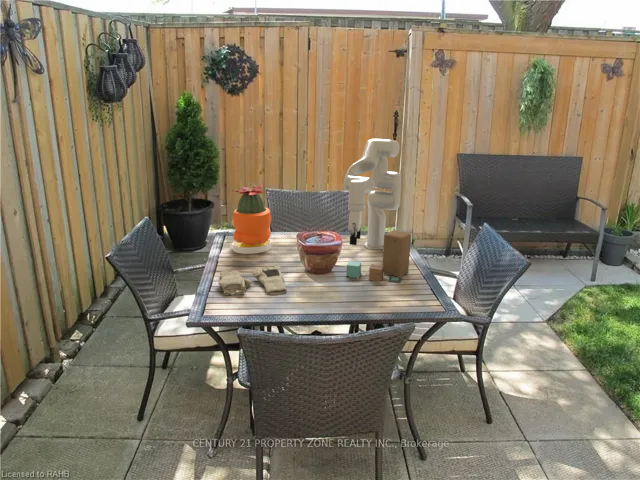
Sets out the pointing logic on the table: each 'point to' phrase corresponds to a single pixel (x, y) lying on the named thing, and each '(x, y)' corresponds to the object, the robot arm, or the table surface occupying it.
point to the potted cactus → (251, 223)
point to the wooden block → (396, 252)
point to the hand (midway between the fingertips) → (355, 241)
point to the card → (394, 279)
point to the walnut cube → (376, 272)
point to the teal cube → (353, 269)
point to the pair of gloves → (237, 284)
